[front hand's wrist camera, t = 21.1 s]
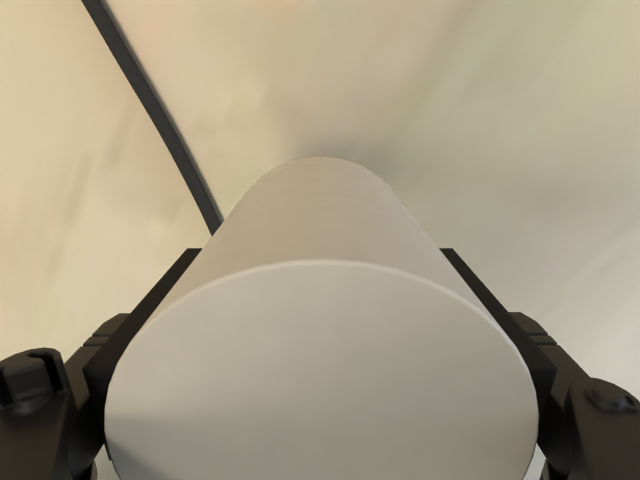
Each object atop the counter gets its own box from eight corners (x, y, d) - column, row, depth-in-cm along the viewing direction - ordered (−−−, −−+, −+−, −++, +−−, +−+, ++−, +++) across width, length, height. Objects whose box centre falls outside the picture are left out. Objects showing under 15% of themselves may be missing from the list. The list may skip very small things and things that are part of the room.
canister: (444, 202, 16) (639, 366, 6) (362, 345, 19) (407, 612, 9) (267, 123, 15) (167, 173, 5) (207, 288, 18) (67, 526, 8)
